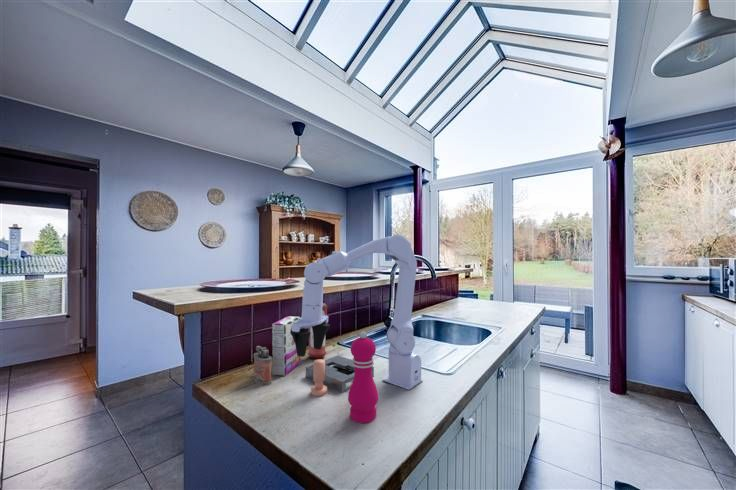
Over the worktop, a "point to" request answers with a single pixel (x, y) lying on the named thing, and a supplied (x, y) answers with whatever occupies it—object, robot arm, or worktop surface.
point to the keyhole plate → (336, 373)
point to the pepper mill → (363, 381)
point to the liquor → (312, 351)
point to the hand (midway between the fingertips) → (309, 352)
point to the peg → (319, 378)
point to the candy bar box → (284, 347)
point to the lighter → (262, 366)
